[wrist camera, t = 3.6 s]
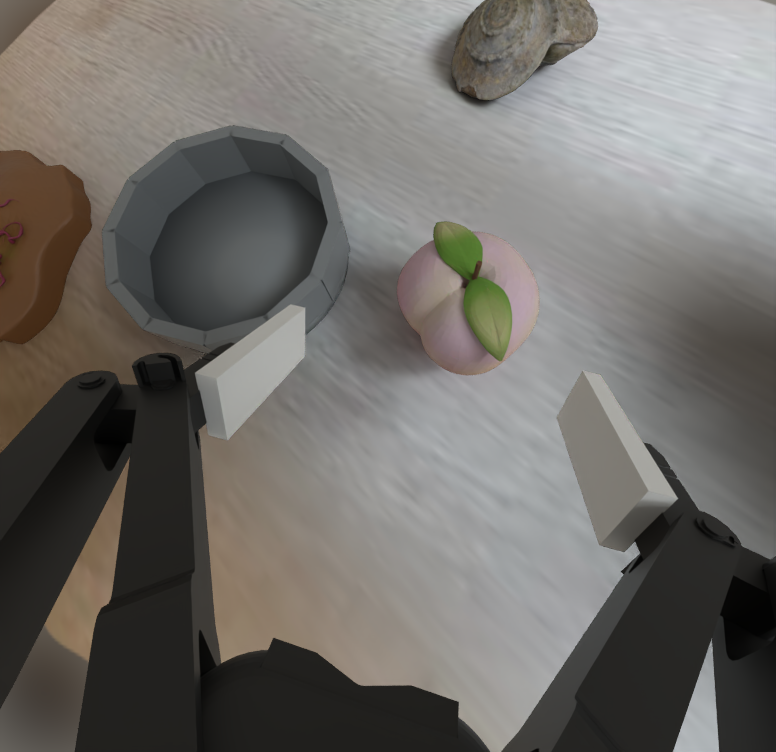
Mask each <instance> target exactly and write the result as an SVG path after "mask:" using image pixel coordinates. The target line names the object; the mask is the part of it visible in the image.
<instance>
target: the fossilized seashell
mask: <svg viewBox="0 0 776 752" xmlns="http://www.w3.org/2000/svg"><path fill="white" fill-rule="evenodd" d="M597 29H598V22H597V16H596V14H595V12H594V9H593V8H592V7H591V6H590V4H589V2H588V1H587V0H485V1H483V2H482V3H481V4H480V5H479V6H478V7H477V8H476V9H475V10H474V11H473V12H472V13H471V14H470V16H469V17H468V18H467V20H466V21H465V23H464V26H463V28H462V29H461V30H460V32H459V35H458V39H457V43H456V47H455V52H454V55H453V60H452V78H453V79H454V80H455V81H456V85H457V89H458V91H459V92H464V93H466V94H468V95H470V96H471V97H477V98H478V99H482V100H494V99H497V98H500V97H502V96H504V95H507V94H509V93H511V92H513V91H514V90H516V89H517V88H518V87H520V86H521V85H522V84H523V83H524V82H525V81H526V80H528V78H529V77H530V76H531V75H532V73H533V72H534V71H535V70H536V69H537V68H538V66H544V65H553V64H555V63H557V62H558V61H559V60H561V59H562V58H564V57H565V56H567V55H569V54H570V53H572V52H574V51H576V50H577V49H579V48H582V47H583V46H584V45H585V44H587V43H588V42H589V41H591V40H592V39H593V38H594V36H595V34H596V32H597Z"/></svg>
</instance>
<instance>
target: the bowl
mask: <svg viewBox="0 0 776 752" xmlns="http://www.w3.org/2000/svg"><path fill="white" fill-rule="evenodd" d="M102 231H103V232H102V240H103V254H104V267H105V281H106V286H107V288H108V290H109V291H110V292H111V293H112V294H113V295H114V297H115V298H116V299H117V300H118V301H119V303H120V304H121V305H122V306H123V307H124V308H125V310H126V311H127V312H128V313H129V314H130V316H131V317H132V318H133V319H134V320H135V321H136V323H137V324H138V325H139V326H140V327H141V328H142V329H143V330H145V331H147V332H149V333H151V334H154V335H156V336H158V337H161V338H163V339H165V340H167V341H170V342H172V343H174V344H176V345H180V346H183V347H187V348H191V349H195V350H197V351H200V352H203V353H206V354H209V353H210V352H211V351H213V350H214V349H216V348H217V347H219V346H222V345H225V344H227V343H230V342H231V343H235V344H236V343H237V342H239V341H240V340H242V339H243V338H244V337H246V336H247V335H248V334H250V333H251V332H253V331H254V330H255V329H257V328H258V327H260V326H261V325H262V324H264V323H265V322H267V321H268V320H269V319H271V318H272V317H274V316H275V315H276V314H278V313H279V312H281V311H282V310H283V309H285V308H286V307H287V306H289V305H290V304H291V305H296V306H300V307H305V335H306V334H307V333H308V332H309V331H311V330H312V329H313V328H314V327H315V326H316V325H317V324H318V323H319V322H320V321H321V320H322V319H323V318H324V317H325V316H326V314H327V313H328V311H329V310H330V309H331V307H332V306H333V304H334V303H335V301H336V299H337V297H338V296H339V294H340V291H341V289H342V286H343V284H344V281H345V277H346V273H347V268H348V259H349V252H350V247H349V243H348V239H347V236H346V231H345V228H344V224H343V221H342V217H341V213H340V209H339V206H338V202H337V199H336V195H335V192H334V188H333V185H332V181H331V178H330V175H329V171H328V169H327V168H326V167H325V166H324V165H322V164H321V163H320V162H319V161H318V160H317V159H315V158H314V157H313V156H312V155H311V154H309V153H308V152H307V151H306V150H305V149H304V148H302V147H301V146H300V145H299V144H298V143H296V142H295V141H294V140H293V139H292V138H291V137H289V136H287V135H286V134H280V133H274V132H268V131H263V130H257V129H251V128H245V127H240V126H234V125H233V126H227V127H224V128H220V129H216V130H213V131H209V132H206V133H202V134H198V135H195V136H191V137H187V138H184V139H180V140H176V143H175V142H173V143H172V144H170V145H169V146H168V147H167V148H165V149H164V150H163V151H162V152H160V153H159V154H158V155H157V156H155V157H154V158H153V159H152V160H150V161H149V162H148V163H147V164H145V165H144V166H143V167H142V168H140V169H139V170H138V171H137V172H135V173H134V174H133V175H132V176H130V177H129V180H128V179H127V181H126V183H125V185H124V187H123V189H122V191H121V193H120V195H119V197H118V199H117V201H116V203H115V205H114V207H113V209H112V211H111V214H110V216H109V218H108V220H107V222H106V224H105V226H104V228H103V230H102Z"/></svg>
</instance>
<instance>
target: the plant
mask: <svg viewBox="0 0 776 752" xmlns="http://www.w3.org/2000/svg"><path fill="white" fill-rule="evenodd" d="M90 213H91V206H90V201H89V199H88V198H87V196H86V194H85V191H84V186H83V181H82V180H81V179H80V178H78V177H77V176H76V175H75V174H73V173H72V172H71V171H70V170H68V169H67V168H66V167H65V166H63V165H56V166H46V165H45V164H44V163H43V162H41V161H40V160H39V159H37V158H36V157H35V156H33V155H32V154H31V153H29V152H27V151H21V150H13V151H0V342H1V341H3V340H5V341H9V342H13V343H17V344H24V343H25V342H27V341H29V340H30V339H31V338H33V337H34V336H36V335H37V334H38V333H39V332H40V331H41V330H42V329H43V328H44V327H46V326H47V324H48V323H49V322H50V321H51V319H52V318H53V317H54V315H55V313H56V312H57V309H58V307H59V304H60V302H61V298H62V295H63V291H64V286H65V281H66V277H67V274H68V272H69V269H70V267H71V264H72V262H73V260H74V258H75V255H76V253H77V251H78V249H79V246H80V244H81V243H82V241H83V239H84V238H85V237H86V235H87V234H88V233H89V232H90V230H91V226H92V224H91V220H90Z"/></svg>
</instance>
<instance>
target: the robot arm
mask: <svg viewBox="0 0 776 752" xmlns="http://www.w3.org/2000/svg"><path fill="white" fill-rule="evenodd" d="M304 357H305V307H300V306H296V305H291V304H290V305H289V306H287V307H286V308H285V309H283V310H282V311H281V312H279V313H278V314H276V315H275V316H274V317H272V318H271V319H269V320H268V321H267V322H265V323H264V324H262V325H261V326H260V327H258V328H257V329H255V330H254V331H253V332H251V333H250V334H248V335H247V336H246V337H244V338H243V339H242V340H240V341H239V342H237V343H236V344H235V343H231V342H230V343H227V344H225V345H222V346H219V347H217V348H216V349H214V350H213V351H211V352H210V353H209V354H207V355H205V356H204V357H202V359H199V360H198V361H197V362H195V363H194V364H192V365H191V366H189V367H188V368H186V369H185V370H184V369H183V365H182V361H181V359H180V357H179V356H177V355H175V354H171V353H156V354H150V355H147V356H144V357H141V358H139V359H138V360H136V361H135V362H134V363H133V365H132V368H133V371H134V374H135V377H136V380H137V383H138V385H125V384H120V383H119V381H118V378H117V376H116V375H115V374H114V373H112V372H109V371H91V372H87V373H82V374H80V375H78V376H76V377H73V378H72V379H70V380H69V381H68V382H66V383H65V384H64V385H63V387H62V388H61V389H60V390H59V391H58V392H57V393H56V394H55V395H54V396H53V397H52V398H51V399H50V401H49V402H48V403H47V404H46V405H45V406H44V407H43V408H42V409H41V410H40V411H39V412H38V413H37V415H36V416H35V417H34V418H33V419H32V420H31V421H30V422H29V423H28V424H27V425H26V426H25V428H24V429H23V430H22V431H21V432H20V433H19V434H18V435H17V436H16V437H15V438H14V439H13V440H12V442H11V443H10V444H9V445H8V446H7V447H6V448H5V449H4V450H3V451H2V452H1V453H0V708H1V706H2V704H3V703H4V701H5V699H6V697H7V696H8V694H9V692H10V690H11V688H12V687H13V685H14V683H15V681H16V679H17V677H18V675H19V673H20V671H21V669H22V667H23V665H24V663H25V661H26V659H27V657H28V655H29V653H30V651H31V649H32V647H33V645H34V643H35V641H36V639H37V637H38V635H39V634H40V632H41V630H42V628H43V626H44V624H45V622H46V620H47V618H48V616H49V614H50V612H51V610H52V608H53V606H54V604H55V602H56V600H57V598H58V596H59V594H60V592H61V590H62V588H63V586H64V584H65V582H66V580H67V579H68V577H69V575H70V573H71V571H72V569H73V567H74V565H75V563H76V561H77V559H78V557H79V555H80V553H81V551H82V549H83V547H84V545H85V543H86V541H87V539H88V537H89V535H90V533H91V531H92V529H93V527H94V525H95V523H96V522H97V520H98V518H99V516H100V514H101V512H102V510H103V508H104V506H105V504H106V502H107V500H108V498H109V496H110V494H111V492H112V490H113V488H114V486H115V484H116V482H117V480H118V478H119V476H120V474H121V472H122V470H123V468H124V466H125V464H126V463H127V461H128V459H129V457H130V462H129V469H128V477H127V484H126V492H125V500H124V507H123V515H122V523H121V530H120V538H119V545H118V553H117V561H116V568H115V576H114V584H113V591H112V596H111V600H110V602H109V604H107V605H106V606H104V607H102V608H101V610H100V612H99V614H98V616H97V619H96V623H95V628H94V633H93V639H92V646H91V652H90V658H89V665H88V671H87V677H86V684H85V690H84V697H83V703H82V709H81V715H80V722H79V728H78V734H77V741H76V748H75V752H490V751H489V749H488V748H487V746H486V745H485V744H484V743H483V741H482V740H481V739H480V738H479V737H478V735H477V734H476V733H475V732H474V731H473V730H472V729H471V728H470V727H469V726H468V725H467V724H466V723H465V722H464V721H462V720H461V719H460V718H458V706H459V702H457V701H454V700H451V699H448V698H446V697H443V696H440V695H437V694H434V693H431V692H428V691H425V690H422V689H420V688H417V687H414V686H361V685H358V684H356V683H355V682H353V681H352V680H351V679H350V678H348V677H347V676H346V675H344V674H343V673H342V672H341V671H339V670H338V669H337V668H335V667H334V666H333V665H332V664H330V663H329V662H328V661H327V660H325V659H324V658H323V657H321V656H320V655H319V654H318V653H316V652H313V651H310V650H307V649H304V648H301V647H298V646H296V645H293V644H290V643H287V642H284V641H281V640H278V639H275V638H273V640H272V642H271V645H270V647H269V649H268V650H260V651H254V652H248V653H245V654H242V655H239V656H236V657H234V658H232V659H229V660H227V661H225V662H223V663H221V659H220V651H219V644H218V638H217V633H216V626H215V617H214V605H213V593H212V580H211V568H210V556H209V544H208V531H207V519H206V507H205V494H204V482H203V470H202V458H201V445H200V436H199V431H198V430H199V429H200V428H201V427H202V426H203V425H205V424H206V426H207V431H208V435H210V436H213V437H217V438H220V439H224V440H227V441H228V439H229V438H230V437H231V436H232V435H233V434H234V433H235V432H236V431H237V430H238V429H239V427H240V426H241V425H242V424H243V423H244V422H245V421H246V420H247V419H248V418H249V417H250V416H251V414H252V413H253V412H254V411H255V410H256V409H257V408H258V407H259V406H260V405H261V404H262V403H263V401H264V400H265V399H266V398H267V397H268V396H269V395H270V394H271V393H272V392H273V391H274V389H275V388H276V387H277V386H278V385H279V384H280V383H281V382H282V381H283V380H284V379H285V378H286V376H287V375H288V374H289V373H290V372H291V371H292V370H293V369H294V368H295V367H296V366H297V364H298V363H299V362H300V361H301V360H302V359H303V358H304ZM557 420H558V423H559V426H560V429H561V432H562V435H563V438H564V441H565V444H566V447H567V450H568V453H569V456H570V459H571V462H572V465H573V468H574V471H575V474H576V477H577V480H578V483H579V486H580V489H581V492H582V495H583V498H584V501H585V504H586V507H587V510H588V513H589V516H590V519H591V522H592V525H593V528H594V531H595V534H596V537H597V540H598V543H599V545H601V546H604V547H608V548H611V549H615V550H619V551H622V552H625V551H626V550H627V549H628V548H629V547H630V546H631V545H632V544H633V543H634V542H636V544H637V547H638V549H639V551H640V554H639V555H638V556H637V557H636V558H635V559H634V560H633V561H632V562H631V563H630V564H628V565H627V566H626V567H625V568H624V569H623V570H622V571H621V572H622V573H623V574H624V575H623V576H622V578H621V579H620V581H619V582H618V584H617V585H616V587H615V588H614V590H613V591H612V593H611V594H610V596H609V597H608V599H607V600H606V602H605V603H604V605H603V606H602V608H601V609H600V611H599V612H598V614H597V615H596V617H595V618H594V620H593V621H592V623H591V624H590V626H589V627H588V629H587V630H586V632H585V633H584V635H583V636H582V638H581V639H580V641H579V642H578V644H577V645H576V647H575V648H574V650H573V651H572V653H571V654H570V656H569V657H568V659H567V660H566V662H565V663H564V665H563V667H562V668H561V670H560V671H559V673H558V674H557V676H556V677H555V679H554V680H553V682H552V683H551V685H550V686H549V688H548V689H547V691H546V692H545V694H544V695H543V697H542V698H541V700H540V701H539V703H538V704H537V706H536V707H535V709H534V710H533V712H532V713H531V715H530V716H529V718H528V719H527V721H526V722H525V724H524V725H523V726H522V728H521V729H520V731H519V732H518V733H517V734H516V736H515V737H514V738H513V739H512V740H511V741H510V742H509V743H508V744H507V745H506V746H505V748H504V749H503V750H502V751H501V752H673V750H674V747H675V744H676V741H677V738H678V735H679V732H680V729H681V726H682V723H683V720H684V717H685V715H686V712H687V709H688V706H689V703H690V700H691V697H692V694H693V691H694V688H695V685H696V682H697V679H698V677H699V674H700V671H701V668H702V665H703V662H704V659H705V656H706V653H707V650H708V647H709V644H710V642H711V639H712V645H713V661H714V677H715V692H716V708H717V724H718V740H719V752H776V556H775V557H774V558H772V559H771V560H770V559H768V558H765V557H763V556H761V555H759V554H757V553H755V552H753V551H751V550H749V549H747V548H745V547H742V546H741V543H740V541H739V540H738V538H737V536H736V535H735V534H734V533H733V532H732V531H731V530H730V529H729V528H728V527H727V526H726V525H725V524H723V523H722V522H721V521H719V520H718V519H716V518H715V517H713V516H711V515H709V514H707V513H705V512H702V511H699V510H698V508H697V507H696V505H695V504H694V502H693V501H692V499H691V498H690V496H689V495H688V493H687V492H686V490H685V489H684V487H683V486H682V484H681V483H680V481H679V480H678V479H676V478H677V477H676V475H675V473H674V472H673V470H671V469H670V468H671V467H670V466H669V464H668V463H667V461H666V460H665V458H664V457H663V456H662V455H661V454H660V453H659V452H658V451H657V450H656V449H655V448H654V447H652V446H651V445H650V444H647V443H643V442H642V440H641V439H640V437H639V435H638V434H637V432H636V431H635V429H634V427H633V426H632V424H631V423H630V421H629V419H628V418H627V416H626V415H625V413H624V411H623V410H622V408H621V406H620V405H619V403H618V402H617V400H616V398H615V397H614V395H613V394H612V392H611V390H610V389H609V387H608V386H607V384H606V382H605V381H604V379H603V378H602V376H601V375H600V374H595V373H591V372H587V371H582V373H581V375H580V377H579V378H578V380H577V382H576V384H575V385H574V387H573V389H572V391H571V393H570V394H569V396H568V398H567V400H566V402H565V403H564V405H563V407H562V409H561V411H560V412H559V414H558V416H557Z"/></svg>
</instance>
